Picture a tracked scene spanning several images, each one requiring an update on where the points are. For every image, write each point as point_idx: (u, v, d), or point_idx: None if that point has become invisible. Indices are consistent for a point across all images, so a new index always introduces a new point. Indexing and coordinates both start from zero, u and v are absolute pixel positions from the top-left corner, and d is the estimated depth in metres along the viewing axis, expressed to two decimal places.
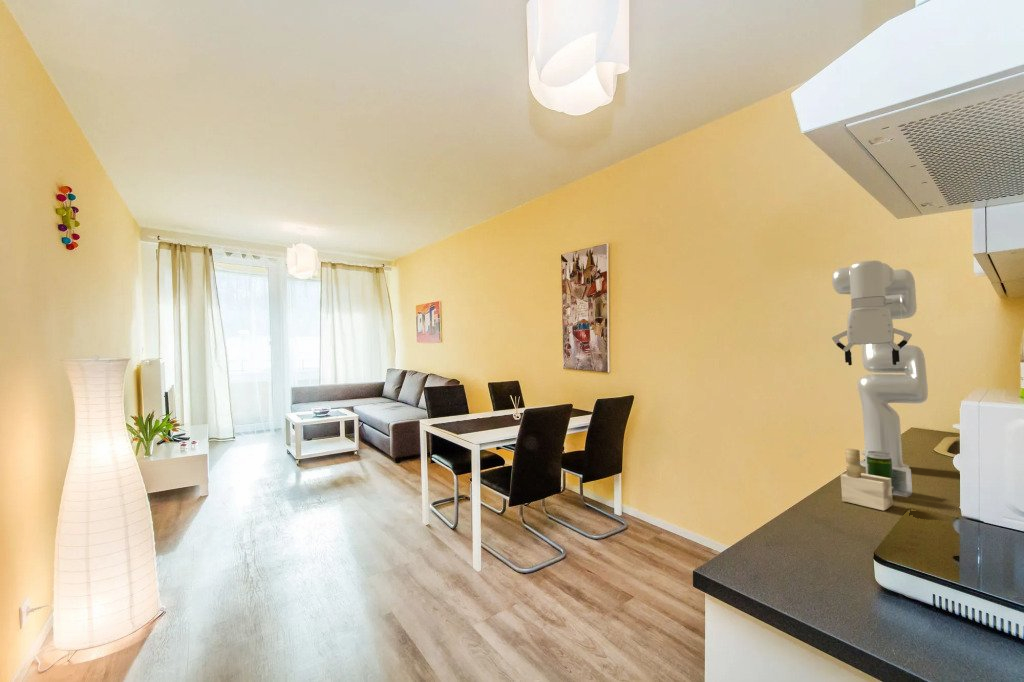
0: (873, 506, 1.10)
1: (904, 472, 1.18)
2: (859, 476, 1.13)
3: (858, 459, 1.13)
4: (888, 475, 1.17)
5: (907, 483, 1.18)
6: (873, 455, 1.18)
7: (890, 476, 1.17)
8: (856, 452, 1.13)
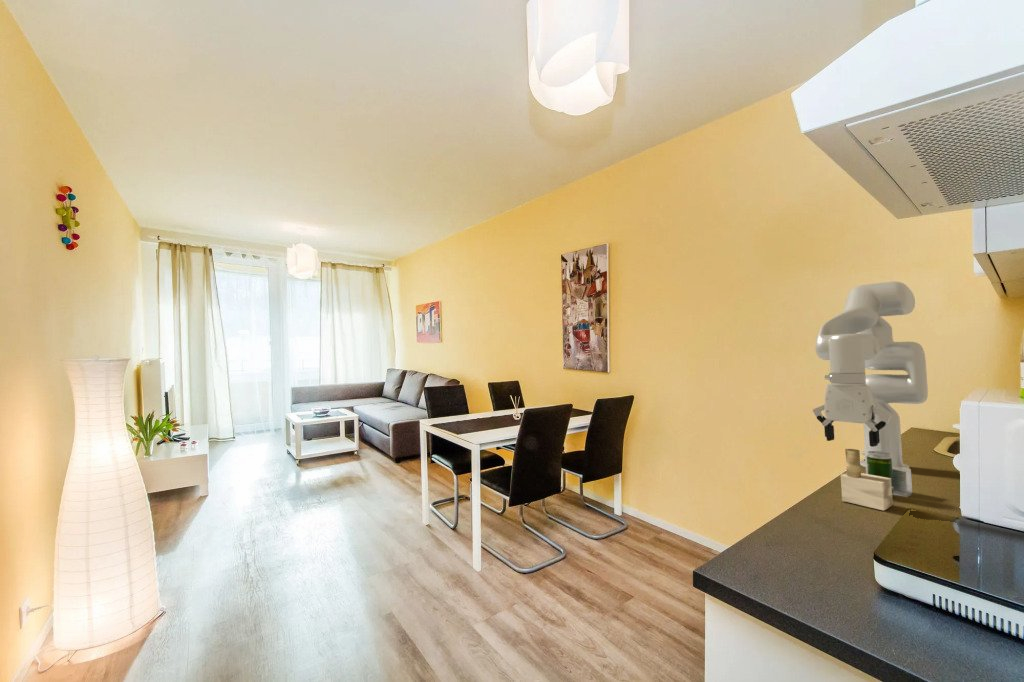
0: (873, 506, 1.10)
1: (904, 472, 1.18)
2: (859, 476, 1.13)
3: (858, 459, 1.13)
4: (888, 475, 1.17)
5: (907, 483, 1.18)
6: (873, 455, 1.18)
7: (890, 476, 1.17)
8: (856, 452, 1.13)
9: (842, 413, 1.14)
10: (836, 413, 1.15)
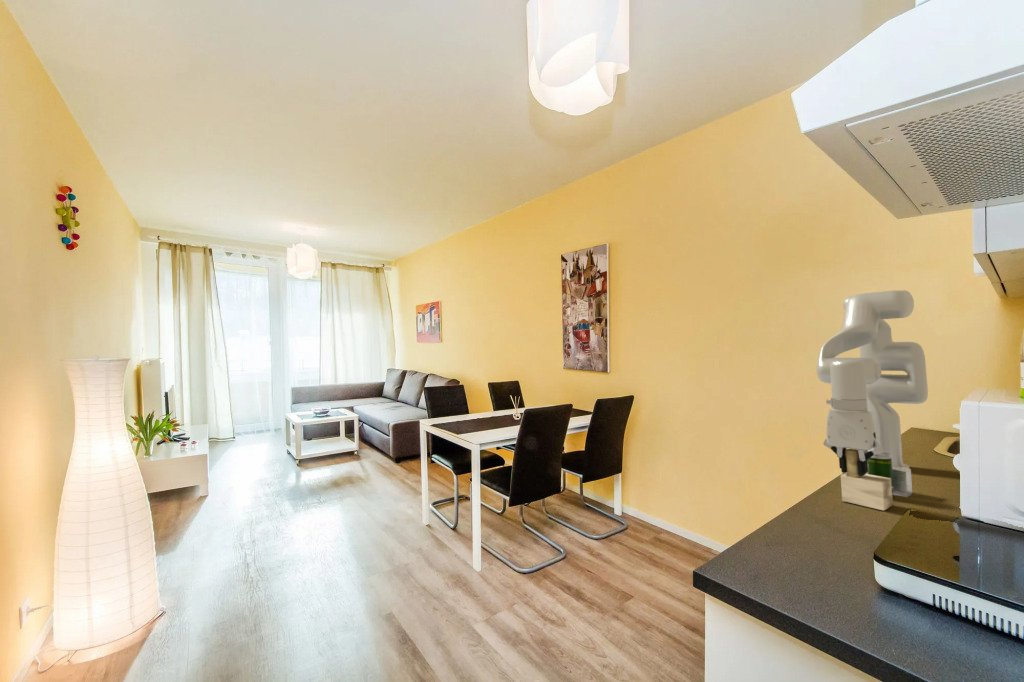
0: (873, 506, 1.10)
1: (904, 472, 1.18)
2: (859, 476, 1.13)
3: (858, 459, 1.13)
4: (888, 475, 1.17)
5: (907, 483, 1.18)
6: None
7: (890, 476, 1.17)
8: (856, 452, 1.13)
9: (844, 439, 1.14)
10: (838, 439, 1.15)
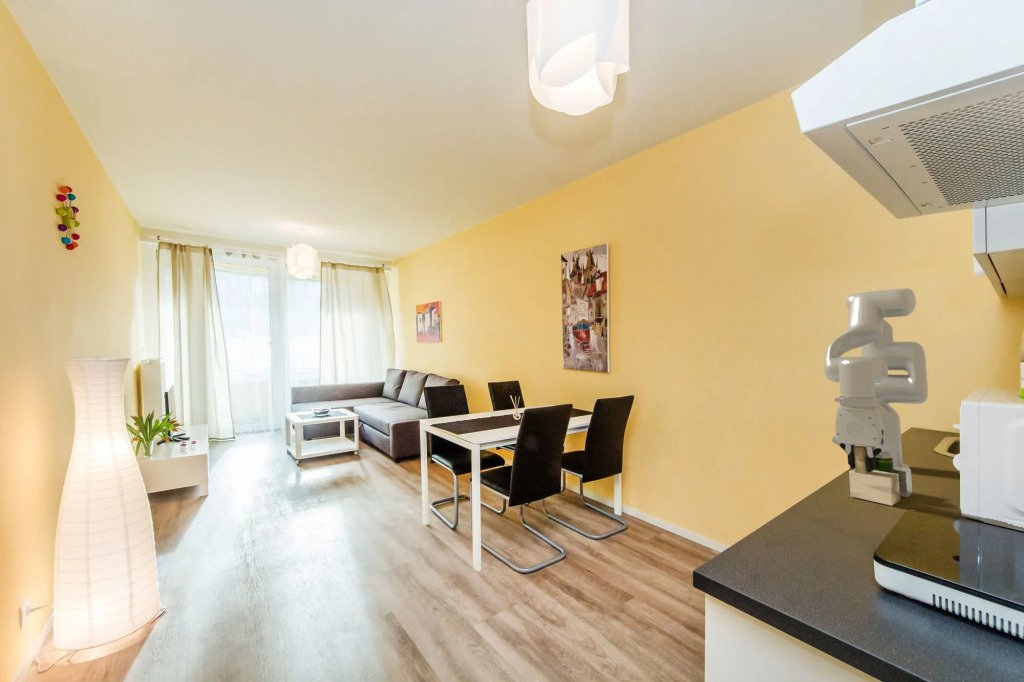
0: (881, 501, 1.13)
1: (904, 472, 1.18)
2: (867, 472, 1.16)
3: (866, 456, 1.16)
4: None
5: (907, 483, 1.18)
6: None
7: None
8: (864, 449, 1.16)
9: (853, 436, 1.17)
10: (847, 436, 1.18)
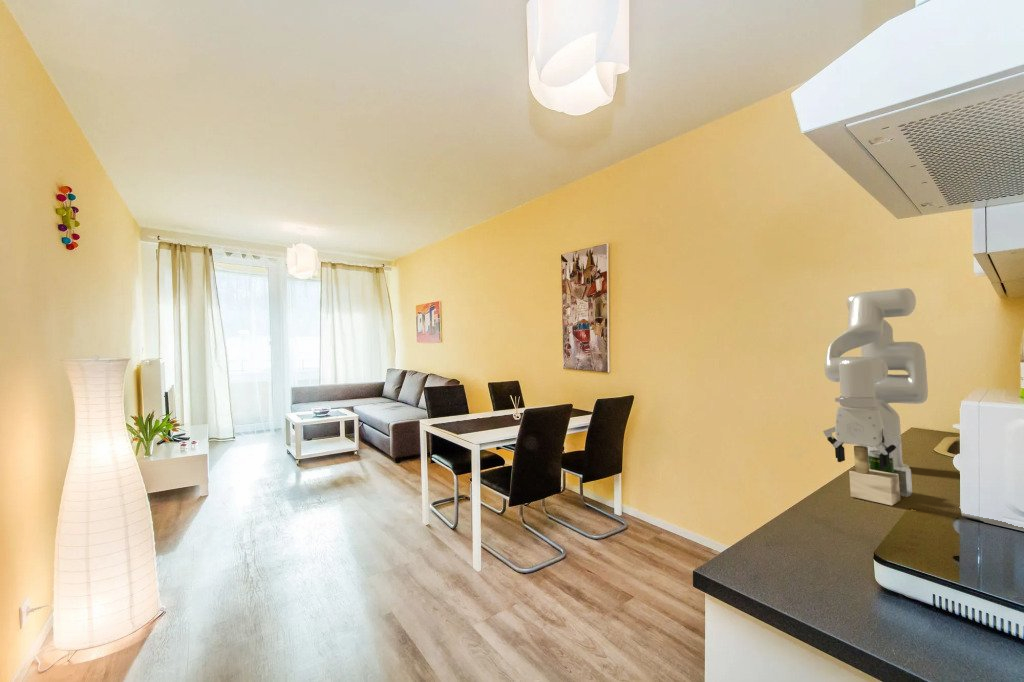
0: (881, 501, 1.13)
1: (904, 472, 1.18)
2: (867, 472, 1.16)
3: (866, 455, 1.16)
4: None
5: (907, 483, 1.18)
6: (875, 454, 1.19)
7: None
8: (864, 449, 1.16)
9: (853, 436, 1.17)
10: (847, 436, 1.18)
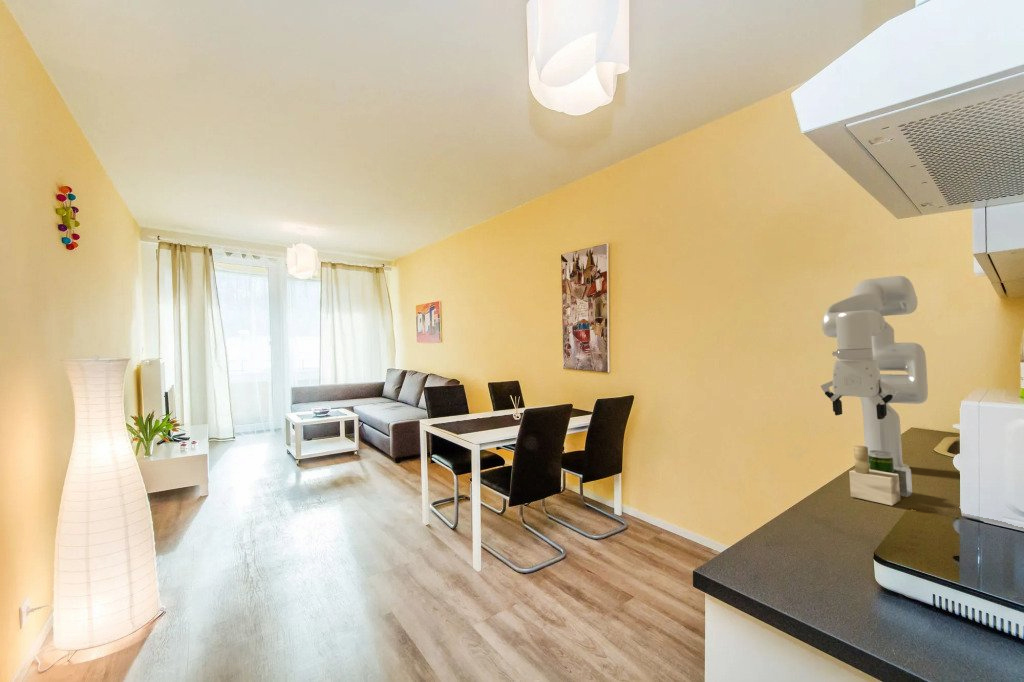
0: (881, 501, 1.13)
1: (904, 472, 1.18)
2: (867, 472, 1.16)
3: (866, 455, 1.16)
4: None
5: (907, 483, 1.18)
6: (875, 454, 1.19)
7: None
8: (864, 449, 1.16)
9: (850, 388, 1.17)
10: (844, 388, 1.19)
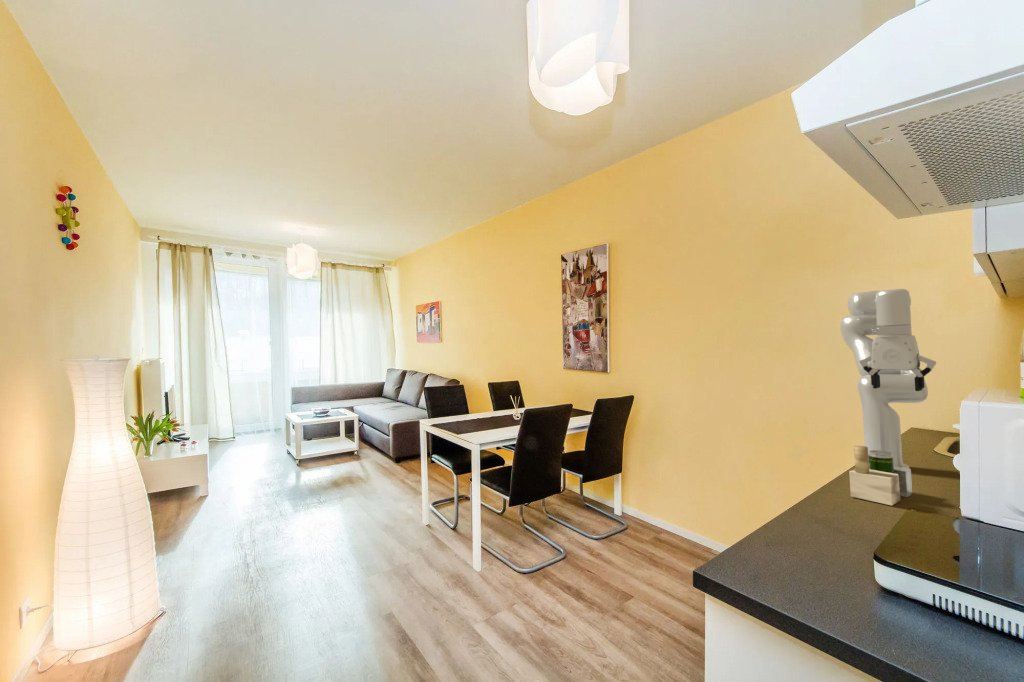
0: (881, 501, 1.13)
1: (904, 472, 1.18)
2: (867, 472, 1.16)
3: (866, 455, 1.16)
4: None
5: (907, 483, 1.18)
6: (875, 454, 1.19)
7: None
8: (864, 449, 1.16)
9: (889, 362, 1.24)
10: (883, 362, 1.26)
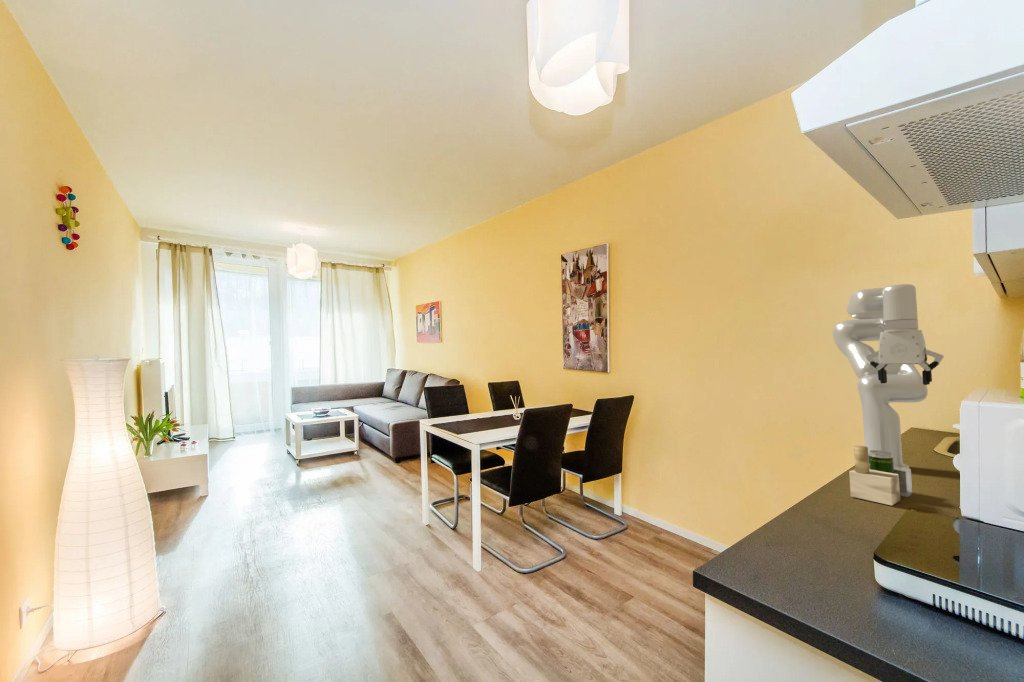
0: (881, 501, 1.13)
1: (904, 472, 1.18)
2: (867, 472, 1.16)
3: (866, 455, 1.16)
4: None
5: (907, 483, 1.18)
6: (875, 454, 1.19)
7: None
8: (864, 449, 1.16)
9: (896, 356, 1.25)
10: (890, 357, 1.27)
